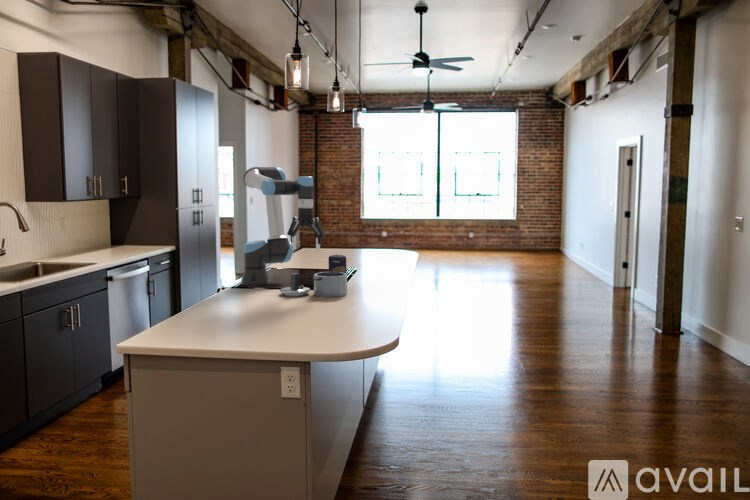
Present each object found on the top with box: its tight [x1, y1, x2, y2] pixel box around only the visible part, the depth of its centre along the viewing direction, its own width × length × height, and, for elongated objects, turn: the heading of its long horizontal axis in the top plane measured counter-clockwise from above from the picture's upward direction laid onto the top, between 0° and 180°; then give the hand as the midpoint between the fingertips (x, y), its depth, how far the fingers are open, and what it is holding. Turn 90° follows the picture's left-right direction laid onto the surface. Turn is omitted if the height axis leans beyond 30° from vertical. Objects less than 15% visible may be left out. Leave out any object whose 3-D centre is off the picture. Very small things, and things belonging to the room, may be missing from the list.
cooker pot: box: [312, 271, 348, 298], centre depth 302 cm, size 16×22×10 cm
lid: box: [279, 272, 311, 298], centre depth 301 cm, size 15×15×11 cm
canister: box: [328, 253, 348, 274], centre depth 320 cm, size 10×10×18 cm
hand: (306, 250), depth 302 cm, fingers open, 13 cm apart
